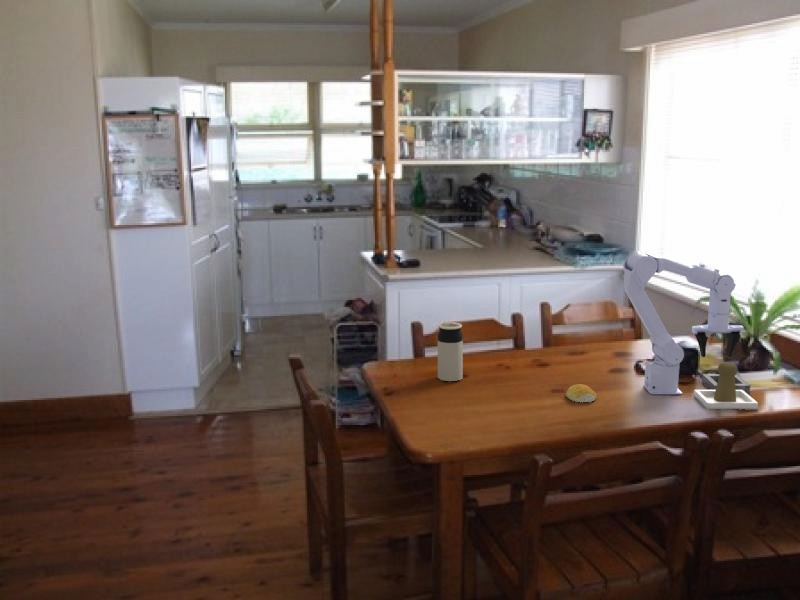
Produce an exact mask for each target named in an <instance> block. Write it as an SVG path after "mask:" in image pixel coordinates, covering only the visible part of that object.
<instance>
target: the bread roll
mask: <svg viewBox="0 0 800 600" xmlns="http://www.w3.org/2000/svg"><path fill="white" fill-rule="evenodd" d="M565 395H566V397H567V399H569V400H570V401H571V400H572V402H574V401H575V402H574V403H578V402H580V403H579V404H584V403H583V402H589V403H592V401H593V402H594V401H595V400H596V399H597V393H596V392H595V390H593V389H592V388H591V387H589V386H588V385H586V384H582V383H577V384H574V385H571V386H569V388H568V389H567V390H566V394H565ZM581 402H582V403H581Z"/></svg>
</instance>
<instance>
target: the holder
mask: <svg viewBox="0 0 800 600" xmlns="http://www.w3.org/2000/svg"><path fill="white" fill-rule="evenodd" d="M701 375H702V377H701V382H702V383H703V384H704V385H705V386H706V388H708V390H716V387H717V383H718V379H719V374H718V373H715V374H714V373H706V374H705V373H702V374H701ZM735 387H736V390H743V391H745V392H746V393H747V394H751V384H750V383H748V382H747V381H746V380H744V379H743V378H742V377H741V376H739V375H738V374H736V375H735Z"/></svg>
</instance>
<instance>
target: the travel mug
mask: <svg viewBox="0 0 800 600" xmlns="http://www.w3.org/2000/svg"><path fill="white" fill-rule="evenodd" d="M462 327H463V324H462V323H459V322H456V321H455V322H454V321H445V322H441V323H439V324H438V328H439V332H438V334H437V379H438V378H439V379H441V380H445V381H457V380H460V381H462V380H463V377H464V376H463V372H464V371H463V370H464V369H463V368H464V365H463V361H464V358H463V357H464V355H463V351H464V350H463V349H464V344H463V343H464V342H463V341H464V334H463V332H462V330H461V329H462ZM439 379H438V380H439ZM461 379H462V380H461ZM441 380H440V381H441Z"/></svg>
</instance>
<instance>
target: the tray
mask: <svg viewBox="0 0 800 600" xmlns="http://www.w3.org/2000/svg"><path fill="white" fill-rule="evenodd" d="M715 391H716V390H710V389H694V391H693V397H694V398H695V399H696V400H697V401H698V402H699V403H700V405H702V406H703V407H704V409H706V410H707V411H709V410H710V411H713V410H715V409H723V410H722V411H726V410H727V411H729V410H730V411H732V409H739V410H738V411H740V410H741V411H743V410H742V409H745V410H744V411H746V410H748V411H749V410H750V411H751V410H752V411H754V410H755V411H758V409H759V402H758V401H757V400H755V399H754V398H753V397H752V396H751V395H750V394H749V393H746V392H745V391H743V390H736V402H718V401H716V400H714V396H715Z"/></svg>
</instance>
